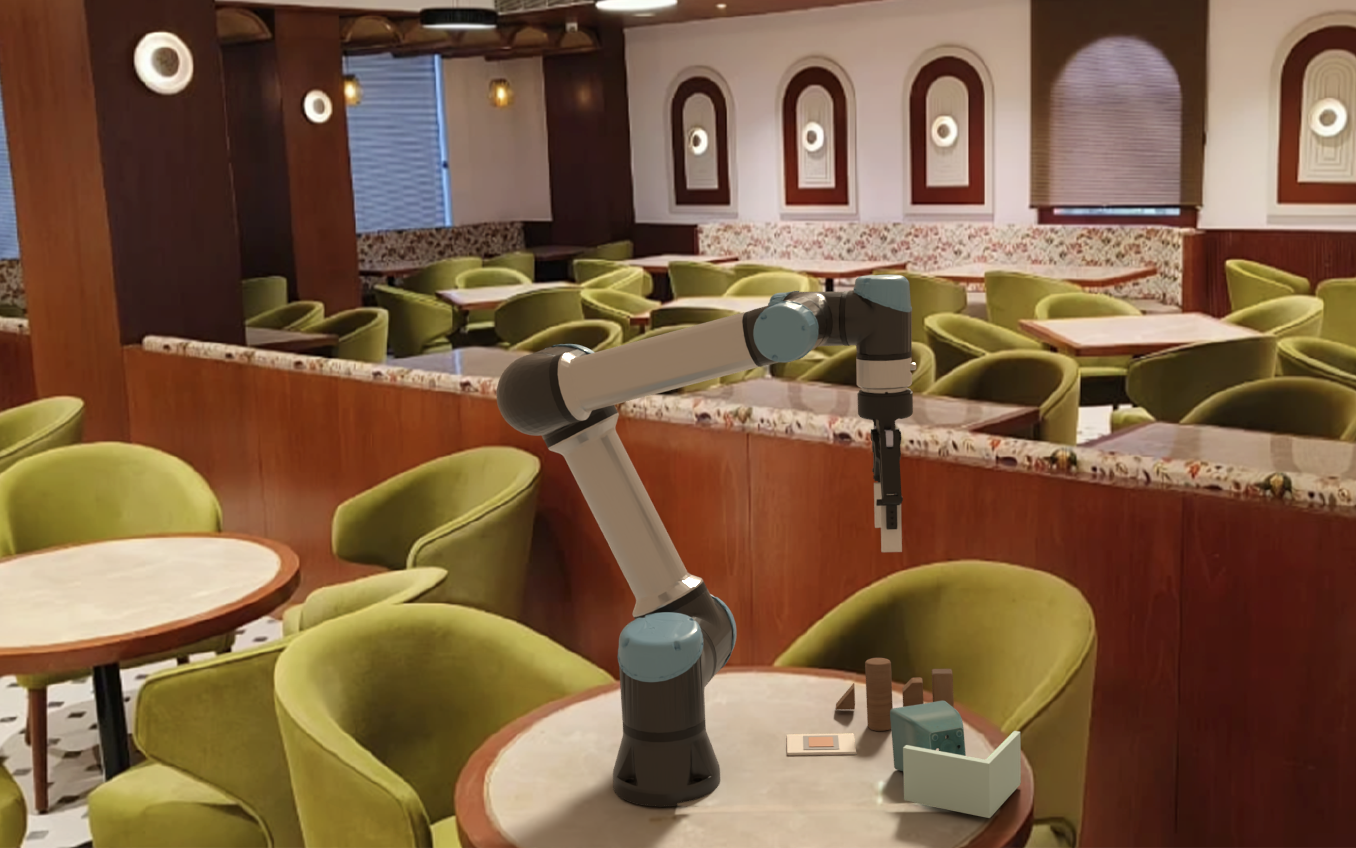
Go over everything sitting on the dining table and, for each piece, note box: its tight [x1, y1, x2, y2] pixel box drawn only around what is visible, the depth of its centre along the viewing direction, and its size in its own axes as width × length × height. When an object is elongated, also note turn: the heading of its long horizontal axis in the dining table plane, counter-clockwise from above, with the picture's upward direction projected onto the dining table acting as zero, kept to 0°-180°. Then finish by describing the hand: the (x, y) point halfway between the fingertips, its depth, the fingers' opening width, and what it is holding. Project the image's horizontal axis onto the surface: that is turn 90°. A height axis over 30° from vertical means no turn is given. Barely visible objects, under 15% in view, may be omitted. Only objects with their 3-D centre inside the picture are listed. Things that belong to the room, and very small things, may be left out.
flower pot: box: [890, 701, 967, 772], centre depth 202 cm, size 9×9×9 cm
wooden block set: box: [834, 657, 955, 732], centre depth 222 cm, size 18×9×10 cm, turn 82°
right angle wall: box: [902, 730, 1022, 819], centre depth 197 cm, size 12×12×8 cm
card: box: [786, 732, 857, 756], centre depth 216 cm, size 10×7×1 cm
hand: (887, 539), depth 203 cm, fingers open, 13 cm apart
